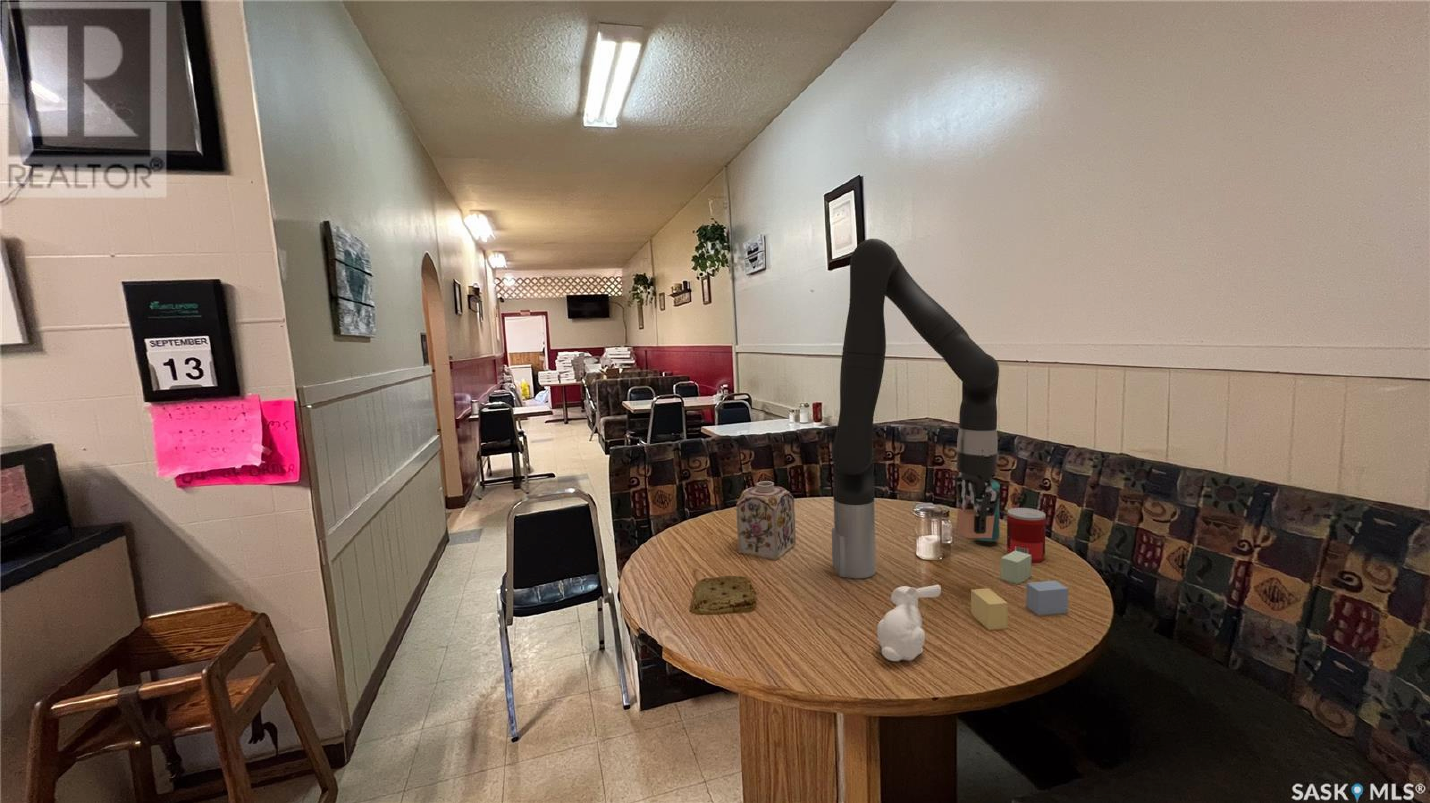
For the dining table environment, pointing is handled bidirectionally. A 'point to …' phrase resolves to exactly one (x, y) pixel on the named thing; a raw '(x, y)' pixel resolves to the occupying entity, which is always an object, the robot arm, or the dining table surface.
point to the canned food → (1026, 532)
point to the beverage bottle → (996, 525)
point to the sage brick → (1016, 567)
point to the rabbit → (904, 624)
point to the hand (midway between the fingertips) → (974, 529)
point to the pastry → (723, 595)
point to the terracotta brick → (972, 524)
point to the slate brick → (1047, 598)
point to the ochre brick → (989, 608)
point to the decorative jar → (766, 521)
